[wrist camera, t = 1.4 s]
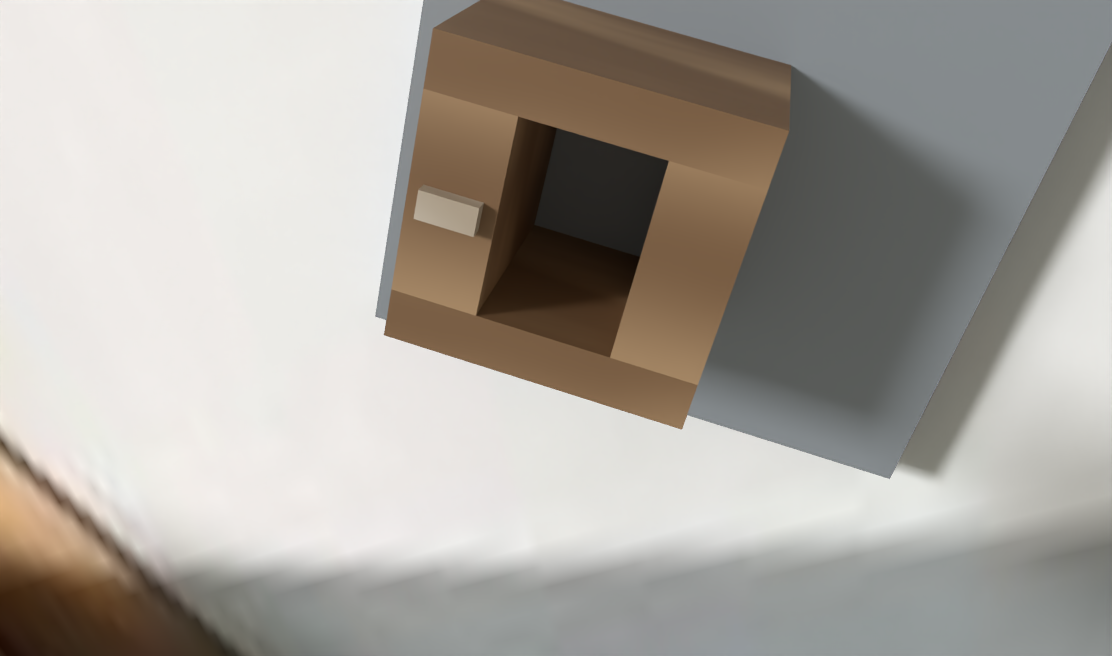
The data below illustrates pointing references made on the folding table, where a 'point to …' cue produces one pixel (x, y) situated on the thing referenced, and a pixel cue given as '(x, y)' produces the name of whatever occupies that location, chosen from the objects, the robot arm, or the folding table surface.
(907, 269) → the shaft plate
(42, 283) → the folding table surface
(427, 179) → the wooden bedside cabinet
